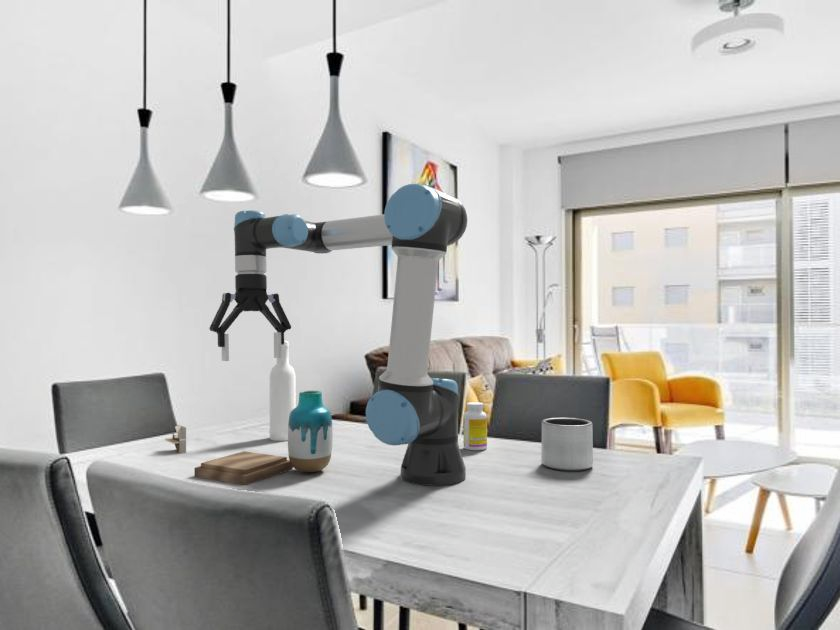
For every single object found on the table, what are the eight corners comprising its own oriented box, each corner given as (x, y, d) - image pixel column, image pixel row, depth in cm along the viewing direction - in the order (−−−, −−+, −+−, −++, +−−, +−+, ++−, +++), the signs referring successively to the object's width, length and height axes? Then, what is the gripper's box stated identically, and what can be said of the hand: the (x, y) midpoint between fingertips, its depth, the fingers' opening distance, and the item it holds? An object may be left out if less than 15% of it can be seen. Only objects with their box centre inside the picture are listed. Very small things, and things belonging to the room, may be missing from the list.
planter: (570, 458, 159) (570, 415, 159) (604, 468, 148) (603, 423, 148) (531, 463, 153) (531, 419, 154) (563, 474, 142) (562, 427, 142)
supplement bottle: (491, 449, 170) (491, 403, 170) (473, 452, 166) (473, 405, 166) (476, 445, 175) (476, 401, 175) (458, 447, 171) (458, 402, 171)
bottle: (287, 441, 180) (287, 341, 180) (264, 440, 182) (264, 341, 182) (300, 436, 188) (300, 340, 188) (277, 435, 190) (277, 340, 190)
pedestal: (292, 468, 148) (292, 456, 148) (245, 485, 133) (245, 471, 133) (243, 461, 155) (243, 450, 155) (194, 476, 141) (194, 463, 141)
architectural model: (173, 456, 164) (173, 428, 164) (165, 451, 169) (165, 425, 169) (186, 454, 166) (186, 427, 166) (177, 450, 171) (177, 424, 171)
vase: (322, 478, 139) (323, 396, 139) (280, 475, 141) (280, 394, 141) (338, 466, 149) (338, 389, 149) (298, 463, 152) (299, 388, 151)
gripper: (290, 276, 161) (291, 356, 160) (195, 273, 145) (196, 361, 145) (303, 274, 155) (304, 357, 154) (205, 270, 139) (207, 362, 139)
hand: (252, 359), depth 149 cm, fingers open, 13 cm apart
